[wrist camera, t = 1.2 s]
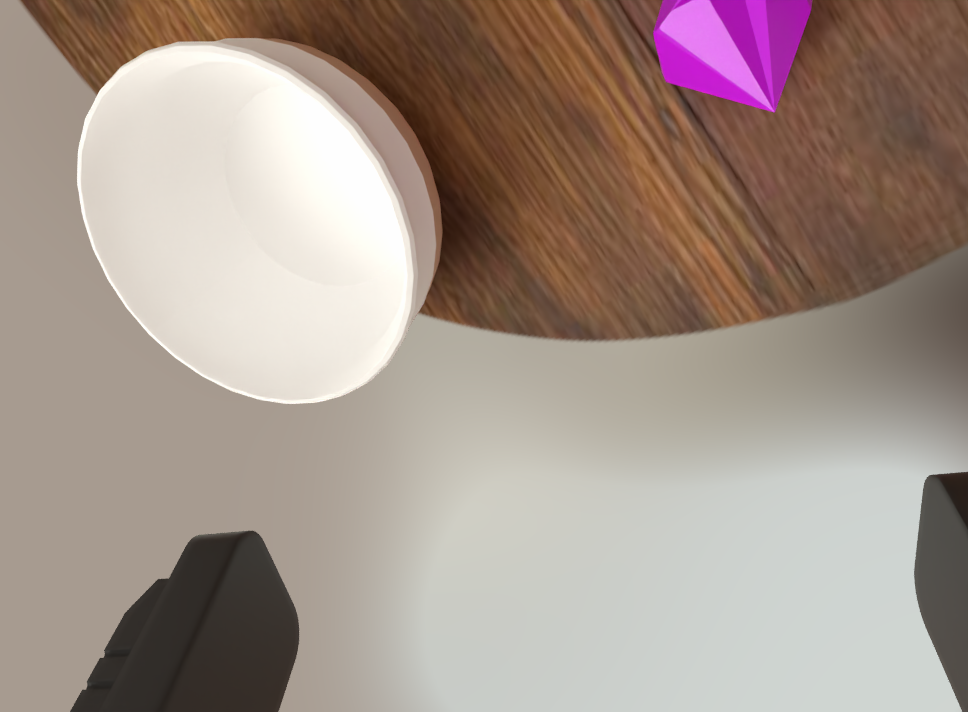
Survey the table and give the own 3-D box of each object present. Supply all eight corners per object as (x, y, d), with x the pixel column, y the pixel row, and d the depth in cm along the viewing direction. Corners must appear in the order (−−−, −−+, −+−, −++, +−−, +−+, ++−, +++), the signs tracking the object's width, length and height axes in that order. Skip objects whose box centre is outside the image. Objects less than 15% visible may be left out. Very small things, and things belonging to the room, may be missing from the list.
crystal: (826, -48, 30) (828, -35, 26) (776, 102, 32) (771, 133, 29) (683, -75, 31) (665, -66, 27) (647, 73, 33) (626, 99, 30)
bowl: (548, 218, 38) (495, 291, 32) (340, 375, 47) (266, 457, 40) (309, -74, 35) (196, -59, 28) (135, 153, 44) (19, 204, 37)
